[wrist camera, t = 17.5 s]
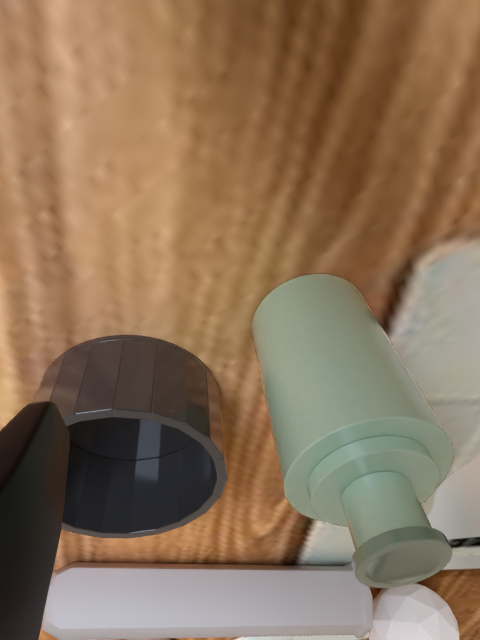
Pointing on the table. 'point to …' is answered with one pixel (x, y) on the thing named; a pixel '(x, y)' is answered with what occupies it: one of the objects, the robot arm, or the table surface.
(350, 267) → the table surface
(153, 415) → the cup
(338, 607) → the tube
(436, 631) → the ball
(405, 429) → the bottle
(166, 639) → the ramekin
